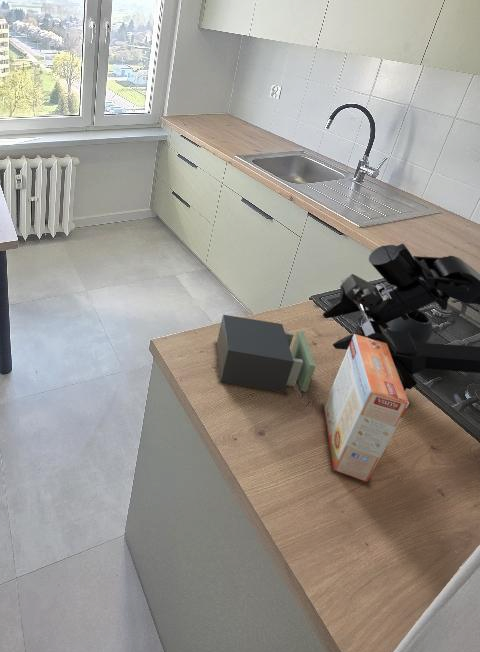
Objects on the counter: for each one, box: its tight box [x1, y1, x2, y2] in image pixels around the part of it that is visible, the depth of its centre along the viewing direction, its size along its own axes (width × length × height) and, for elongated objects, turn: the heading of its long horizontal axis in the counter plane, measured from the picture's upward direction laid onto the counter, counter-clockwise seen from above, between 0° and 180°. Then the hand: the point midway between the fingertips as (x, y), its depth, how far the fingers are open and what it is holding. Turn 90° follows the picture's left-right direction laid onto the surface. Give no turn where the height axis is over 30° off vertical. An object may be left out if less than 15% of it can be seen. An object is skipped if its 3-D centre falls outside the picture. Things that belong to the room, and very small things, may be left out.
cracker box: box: [323, 334, 410, 483], centre depth 77 cm, size 14×6×21 cm, turn 160°
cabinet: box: [216, 314, 294, 394], centre depth 95 cm, size 13×11×9 cm
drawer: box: [284, 330, 317, 392], centre depth 94 cm, size 14×10×8 cm
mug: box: [389, 309, 434, 343], centre depth 102 cm, size 12×9×11 cm
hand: (328, 330), depth 90 cm, fingers open, 9 cm apart
